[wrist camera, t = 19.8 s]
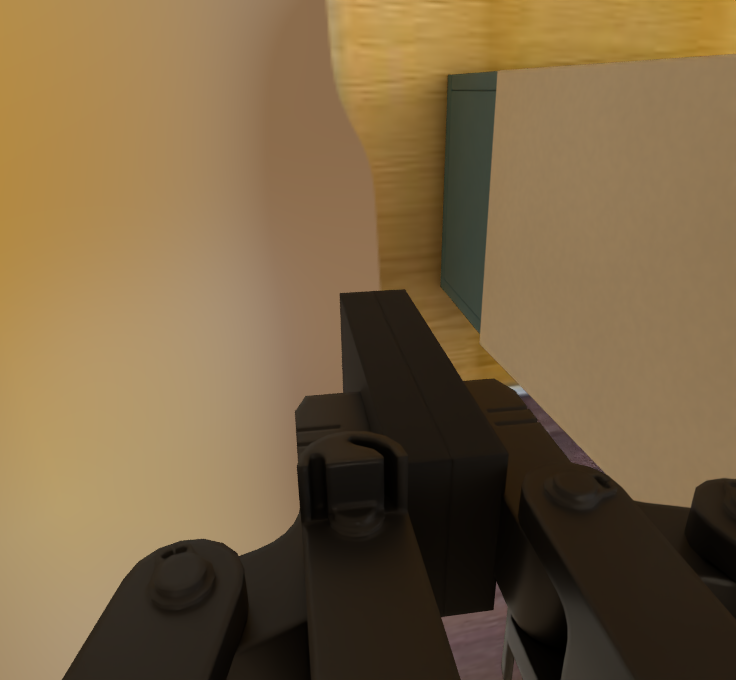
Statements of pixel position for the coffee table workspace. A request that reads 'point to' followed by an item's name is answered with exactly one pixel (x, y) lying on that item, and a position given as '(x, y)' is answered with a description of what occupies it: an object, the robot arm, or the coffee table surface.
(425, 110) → the coffee table surface
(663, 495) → the lid
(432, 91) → the coffee table surface
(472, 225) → the teal open box
